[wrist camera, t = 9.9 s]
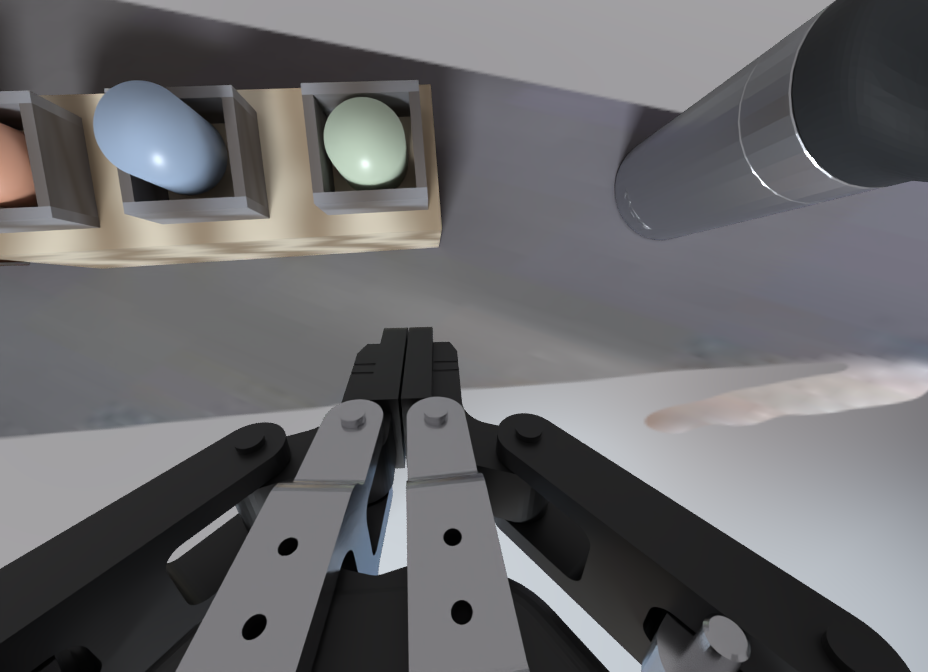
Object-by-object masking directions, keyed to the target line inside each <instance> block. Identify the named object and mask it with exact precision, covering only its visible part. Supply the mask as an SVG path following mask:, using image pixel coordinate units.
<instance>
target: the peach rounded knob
mask: <svg viewBox="0 0 928 672" xmlns="http://www.w3.org/2000/svg"><path fill="white" fill-rule="evenodd" d="M0 207H2V208H24V207H38V203H37V198H36V193H35V187H34V182H33V177H32V171H31V166H30V160H29V155H28V150H27V144H26V139H25V134H24V132H22V131H19V130H17V129H14V128H12V127H10V126H7V125H5V124H2V123H0Z"/></svg>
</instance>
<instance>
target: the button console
mask: <svg viewBox="0 0 928 672" xmlns="http://www.w3.org/2000/svg"><path fill="white" fill-rule="evenodd" d="M164 88H166V89H167V90H169V91H170V92H171V93H173V94H174V95H175V96H176V97H178V98H179V99H180V100H181V101H183V102H184V103H185V104H187V105H188V106H189V107H190V108H192V109H193V110H194V111H195V112H197V113H198V114H199V115H200V116H202V117H203V118H204V119H205V120H207V121H208V122H209V123H210V124H212V125H213V126H214V127H215V128H216V130H217V131H218V132H219V133H220V135H221V136H222V138H223V140H224V143H225V146H226V149H227V157H228V159H227V167H226V170H225V173H224V175H223V177H222V179H221V180H220V181H219V183H218V184H217V185H216V186H215V187H213V188H212V189H210V190H209V191H207V192H204V193H202V194H198V195H182V194H178V193H175V192H172V191H170V190H167V189H165V188H162V187H160V186H157V185H155V184H153V183H150V182H148V181H145V180H143V179H141V178H138V177H136V176H133V175H131V174H128V173H126V172H124V171H122V170H120V169H119V168H117V167H116V166H115V165H113V164H112V163H111V162H110V161H109V160H108V159H107V158H106V157H105V155H104V154H103V152H102V151H101V149H100V147H99V146H98V144H97V141H96V138H95V134H94V128H93V118H94V112H95V109H96V106H97V104H98V102H99V101H100V99H101V98H102V96H103V95H104V94H75V95H40V96H39V95H37V94H35V93H33V92H31V91H0V123H2V124H5V125H7V126H10V127H12V128H14V129H17V130H19V131H22V132H24V134H25V139H26V144H27V150H28V155H29V160H30V166H31V171H32V177H33V182H34V187H35V193H36V198H37V203H38V207H24V208H2V207H0V259H1V260H13V261H24V262H35V263H46V264H58V265H69V266H80V267H91V268H118V267H134V266H149V265H165V264H181V263H197V262H212V261H228V260H244V259H260V258H275V257H291V256H307V255H323V254H338V253H354V252H370V251H386V250H401V249H417V248H433V247H439V242H440V237H441V231H442V225H441V212H440V199H439V186H438V173H437V160H436V148H435V135H434V122H433V109H432V96H431V84H426V85H419V82H418V80H396V81H359V82H323V83H301V88H286V89H251V90H236V89H235V88H234V87H233V86H232V85H214V86H178V87H164ZM110 89H111V88H105V89H104V92H105V93H106V92H107V91H108V90H110ZM356 97H368V98H373V99H376V100H378V101H381V102H382V103H384V104H386V105H387V106H388V107H389V108H391V109H392V110H393V111H394V112H395V114H396V115H397V116H398V118H399V120H400V122H401V124H402V126H403V130H404V134H405V141H406V147H407V154H408V169H407V173H406V175H405V178H404V179H403V181H402V182H401V184H400V185H399V186H398V187H397V188H396V189H381V190H361V191H356V190H355V189H353V188H352V187H351V186H350V185H349V184H348V183H347V182H346V181H345V180H344V178H343V177H342V175H341V174H340V173H339V171H338V170H337V168H336V167H335V166H334V164H333V163H332V161H331V160H330V158H329V156H328V154H327V152H326V148H325V144H324V128H325V124H326V121H327V119H328V117H329V115H330V114H331V112H332V111H333V110H334V109H335V108H336V107H337V106H338V105H339V104H341V103H342V102H344V101H346V100H348V99H351V98H356Z"/></svg>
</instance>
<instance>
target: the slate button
mask: <svg viewBox="0 0 928 672" xmlns="http://www.w3.org/2000/svg"><path fill="white" fill-rule="evenodd" d="M93 128H94V134H95V138H96V141H97V144H98V146H99V147H100V149H101V151H102V152H103V154H104V155H105V157H106V158H107V159H108V160H109V161H110V162H111V163H112V164H113V165H115V166H116V167H117V168H119V169H120V170H122V171H124V172H126V173H128V174H131V175H133V176H136V177H138V178H141V179H143V180H145V181H148V182H150V183H153V184H155V185H157V186H160V187H162V188H165V189H167V190H170V191H172V192H175V193H178V194H182V195H198V194H202V193H204V192H207V191H209V190H210V189H212V188H213V187H215V186H216V185H217V184H218V183H219V181H220V180H221V179H222V177H223V175H224V173H225V170H226V167H227V159H228V157H227V149H226V146H225V143H224V140H223V138H222V136H221V135H220V133H219V132H218V131H217V130H216V128H215V127H214V126H213V125H212V124H210V123H209V122H208V121H207V120H205V119H204V118H203V117H202V116H200V115H199V114H198V113H197V112H195V111H194V110H193V109H192V108H190V107H189V106H188V105H187V104H185V103H184V102H183V101H181V100H180V99H179V98H178V97H176V96H175V95H174V94H173V93H171V92H170V91H169V90H167V89H166V88H164V87H162V86H160V85H158V84H155V83H152V82H148V81H141V80H134V81H127V82H123V83H120V84H118V85H116V86H114V87H112V88H111V89H110V90H108V91H107V92H106V93H105V94H104V95H103V96H102V98H101V99H100V101H99V102H98V104H97V106H96V109H95V112H94V118H93Z"/></svg>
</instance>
